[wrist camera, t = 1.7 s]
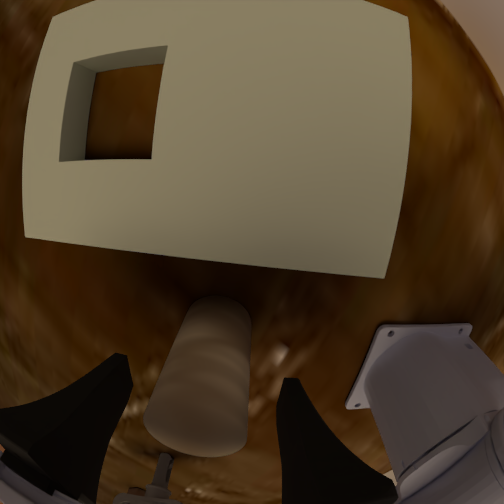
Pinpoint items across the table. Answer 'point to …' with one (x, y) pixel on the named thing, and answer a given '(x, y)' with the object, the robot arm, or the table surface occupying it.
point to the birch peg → (205, 382)
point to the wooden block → (136, 491)
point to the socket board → (229, 132)
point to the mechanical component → (153, 486)
